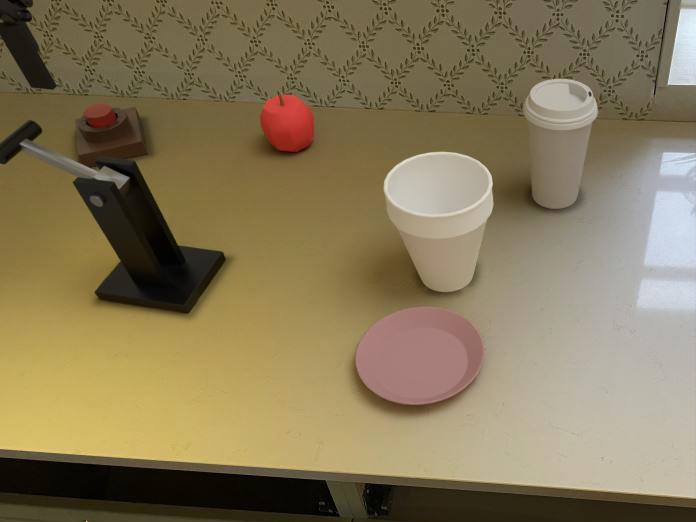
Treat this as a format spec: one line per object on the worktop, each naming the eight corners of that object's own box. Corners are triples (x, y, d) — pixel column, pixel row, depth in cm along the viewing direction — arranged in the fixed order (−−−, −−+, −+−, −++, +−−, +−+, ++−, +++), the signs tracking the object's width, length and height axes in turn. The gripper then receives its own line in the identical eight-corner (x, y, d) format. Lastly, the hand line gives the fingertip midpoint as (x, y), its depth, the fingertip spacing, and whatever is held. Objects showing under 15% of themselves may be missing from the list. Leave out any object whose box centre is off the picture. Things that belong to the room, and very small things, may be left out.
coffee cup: (576, 222, 89) (586, 120, 77) (511, 206, 91) (512, 105, 80) (596, 183, 95) (608, 83, 83) (535, 169, 97) (538, 70, 85)
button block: (81, 132, 104) (68, 108, 101) (141, 119, 106) (129, 95, 103) (85, 168, 98) (71, 144, 95) (147, 154, 100) (136, 130, 97)
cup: (477, 316, 78) (472, 225, 67) (383, 296, 80) (364, 204, 70) (506, 252, 85) (506, 160, 75) (419, 235, 88) (407, 143, 77)
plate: (382, 433, 68) (379, 422, 66) (343, 341, 76) (339, 329, 74) (505, 386, 71) (505, 375, 70) (456, 303, 80) (455, 291, 78)
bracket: (99, 300, 80) (24, 192, 68) (143, 247, 86) (81, 139, 74) (188, 313, 79) (128, 205, 66) (226, 259, 85) (178, 151, 72)
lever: (-9, 162, 68) (-13, 144, 66) (28, 131, 72) (24, 114, 70) (110, 215, 71) (108, 199, 69) (139, 183, 75) (139, 167, 73)
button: (88, 118, 100) (82, 107, 98) (116, 112, 101) (110, 101, 99) (89, 130, 98) (83, 120, 96) (118, 124, 99) (112, 114, 97)
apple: (299, 164, 98) (285, 114, 92) (257, 151, 100) (240, 102, 94) (329, 137, 103) (318, 88, 96) (288, 126, 105) (274, 77, 98)
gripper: (-273, -78, 43) (-53, 195, 59) (-13, -173, 58) (104, 65, 74) (-365, -85, 44) (-123, 185, 60) (-86, -176, 59) (46, 59, 75)
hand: (3, 119), depth 67 cm, fingers open, 13 cm apart
